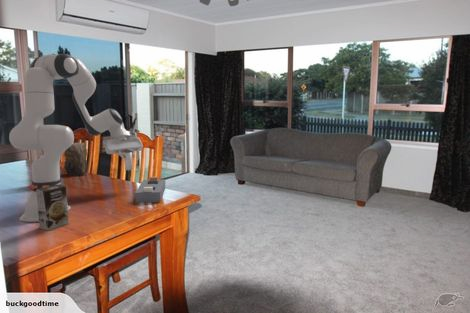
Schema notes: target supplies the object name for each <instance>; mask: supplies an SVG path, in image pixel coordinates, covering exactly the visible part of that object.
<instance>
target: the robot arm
mask: <svg viewBox="0 0 470 313" xmlns="http://www.w3.org/2000/svg"><path fill="white" fill-rule="evenodd" d="M30 67H31V68H29V69H27V70H26V74H25V78H24V80H25V81H24V96H25V98H24V99H25V107H24V108H25V109H24V114H23V117H22V118H21V120H20V122H18V124H17V125H15V126H14V127H13V128H12V129H11V130H10V132H9V136H8V137H9V138H8V139H9V142H10V145H11V146H12V147H13V148H14V149H19V150H23V151H24V150H25V151H35V150H37V151H41V150H42V151H43V154H42V155H41V156H42V157H40V158H39V157H38V158H36V159H35V160H34V161H32V163H31V167H30V169H31V177H32V178H31V179H32V181H31V183H30V184H29V185H28V190H30V191H31V192H30V193H29V196H28V198H27V201H26V202H25V205H24V212H23V214H22V215H21V216H20V217H19V222H26V223H27V222H29V223H30V222H31V223H32V222H33V223H34V222H38V223H39V215H38V203H37V192H36V189H39V188H44V187H48V186H53V185H62V186H63V184H62V183H63V181H62V178H61V175H60V173H61V172H60V167H61V166H60V164H61V163H60V162H61V159H62V156H63V155H64V153H65V150H66V149H68V148H69V147H70V146H71V145H72V144H74V141H75V135H74V132H73V130H72V129H71V128H70V127H69V126H66V125H62V124H61V125H60V124H42V123H43V119H44V118H47V117H49V116H50V115H52V114H53V113H54V111H55V110H56V109H55V108H56V107H55V94H54V93H55V92H54V91H55V90H54V81H55V80H61V79H62V80H63V79H66V80H67V81H68V83H69V84H70V86H71V87H72V90H73V93H72V94H71V96H72V97H71V98H72V101H73V103H74V106H75V108H76V110H77V112H78V114H79V115H80V118H81V120H82V122H83V124H84V127H85V129H86V132H87V133H88V134H89V135H91V136H94V137H96V136H97V137H98V136H99V135H101V134H103V133H104V132H106V131H108V132H109V133H110V138H104V139H103V140H102V144H103V146H104V149H105V152H106V155H107V154H108V155H112V154H113V155H114V154H117V155H118V156H120V157H121V159H122V160H124V159H125V154H124V149H132V159H133V158H135V157H136V154H135V152H139V151H142V150H143V148H144V145H143V142H142V141H141V138H140V137H139V136H138V134H137V132H133V131H129V130H127V129H126V128H125V125H124V122H123V118H122V116H121V114H120V113H119V111H117V109H114V108H107V109H105V110H103V111H101V112H100V113H98V114H96V115H93V116H90V113H89V111H88V109H87V107H86V105H85V104H86V102H87V101H88V99H90V98H91V97H92V95H93V94H94V93H95V91H96V87H97V82H96V79H95V77H94V76H93V75H92V73H91V71H90V70H89V69H88V67H87V66H86V65H85V64H84V63H83V62H82V60H81V59H79V58H78V57H73V56H72V55H70V54H67V53H59V54H58V53H56V54H55V53H51V54H45V55H40V56H37V57H35V58H34V59H33V60H32V62H31V66H30ZM67 207H68V211H70V210H71V209H72V208H71V206H70V205H68V203H67Z"/></svg>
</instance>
